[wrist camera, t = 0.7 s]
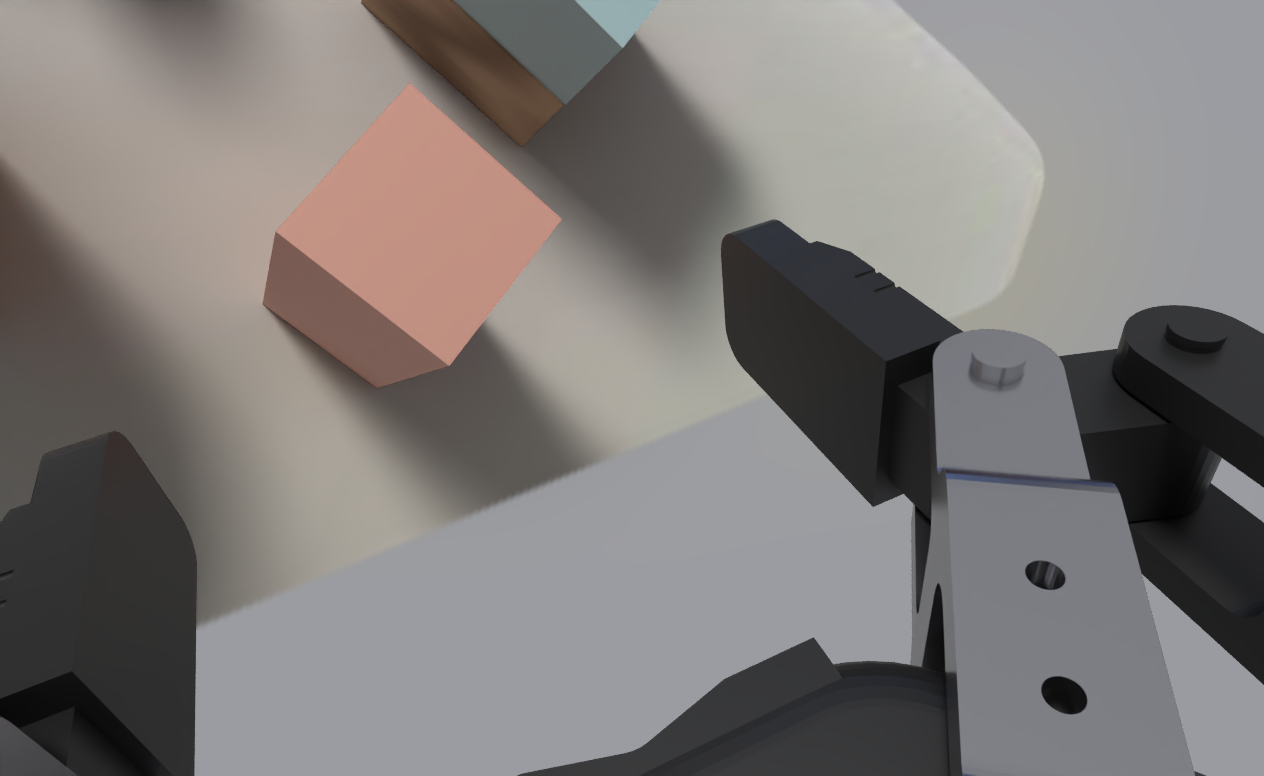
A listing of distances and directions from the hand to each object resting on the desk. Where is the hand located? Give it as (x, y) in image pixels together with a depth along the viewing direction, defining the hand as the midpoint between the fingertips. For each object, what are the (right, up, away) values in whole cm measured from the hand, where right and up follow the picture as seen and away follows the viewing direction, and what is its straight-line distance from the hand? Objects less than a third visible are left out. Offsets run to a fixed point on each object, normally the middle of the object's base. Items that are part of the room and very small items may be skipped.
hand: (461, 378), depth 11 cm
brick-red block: (-8, +3, +20) cm, 22 cm away
